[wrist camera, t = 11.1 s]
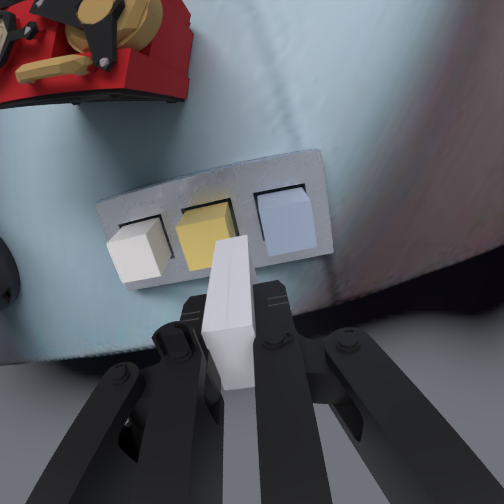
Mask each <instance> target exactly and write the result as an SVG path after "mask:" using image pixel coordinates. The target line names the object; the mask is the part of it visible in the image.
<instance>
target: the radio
mask: <svg viewBox="0 0 504 504" xmlns="http://www.w3.org/2000/svg"><path fill="white" fill-rule="evenodd" d="M190 17H191V14H190V13H189V11H188V9H187V8H186V6H185V4H184V3H183V1H182V0H0V109H7V108H15V107H24V106H35V105H47V104H65V103H72V104H73V105H79V104H80V103H83V102H101V101H166V102H167V103H176V102H184V99H187V96H188V87H189V78H187V74H188V67H189V60H190V53H191V47H192V40H193V33H192V32H191V30H190V29H189V26H190V24H191V23H190Z"/></svg>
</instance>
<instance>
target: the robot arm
mask: <svg viewBox="0 0 504 504" xmlns="http://www.w3.org/2000/svg"><path fill="white" fill-rule="evenodd" d="M19 288H20V282H19V275H18V271H17V267H16V264H15V262H14V259H13V257H12V255H11V253H10V251H9V250H8V248H7V246H6V245H5V243H4V242H3V241H2V239H1V238H0V311H1V310H3V309H6V308H7V307H9V306H10V305H11V304H12V302H13V301H14V300H15V299H16V298H17V296H18V293H19ZM152 340H153V342H154V344H155V346H156V348H157V350H158V351H159V353H160V355H161V357H162V358H161V362H160V363H158V364H156V365H153V366H150V367H147V368H144V369H142V370H139V368H138V367H137V366H136V365H135V364H133V363H131V362H122V363H119V364H116V365H114V366H113V367H111V368H110V369H109V370H108V371H107V372H106V373H105V374H104V376H103V377H102V379H101V380H100V382H99V383H98V385H97V386H96V388H95V389H94V391H93V393H92V394H91V396H90V397H89V399H88V400H87V402H86V403H85V405H84V406H83V408H82V410H81V411H80V413H79V414H78V416H77V417H76V419H75V421H74V422H73V424H72V425H71V427H70V428H69V430H68V432H67V433H66V435H65V436H64V438H63V440H62V441H61V443H60V445H59V446H58V448H57V450H56V452H55V453H54V455H53V456H52V458H51V460H50V461H49V463H48V465H47V466H46V468H45V470H44V472H43V473H42V475H41V477H40V479H39V480H38V482H37V484H36V485H35V487H34V489H33V491H32V493H31V494H30V496H29V498H28V500H27V502H26V503H25V504H222V493H223V491H222V489H223V434H224V433H223V431H224V400H223V397H222V395H221V392H220V391H221V383H222V385H223V388H224V390H232V389H241V388H248V387H255V397H256V415H257V432H258V452H259V470H260V487H261V504H333V503H332V498H331V493H330V487H329V482H328V477H327V472H326V467H325V462H324V457H323V451H322V447H321V442H320V437H319V432H318V427H317V422H316V417H315V412H314V408H313V403H319V404H329V406H330V408H331V410H332V411H333V413H334V414H335V416H336V418H337V419H338V421H339V423H340V424H341V426H342V428H343V429H344V431H345V432H346V434H347V435H348V437H349V439H350V440H351V442H352V444H353V445H354V447H355V448H356V450H357V452H358V453H359V455H360V456H361V458H362V460H363V461H364V463H365V464H366V466H367V468H368V469H369V471H370V472H371V474H372V476H373V477H374V479H375V480H376V482H377V483H378V485H379V487H380V488H381V490H382V491H383V493H384V495H385V496H386V498H387V499H388V501H389V502H390V504H504V488H503V487H502V486H501V485H500V483H499V482H498V481H497V480H496V478H495V477H494V476H493V475H492V474H491V472H490V471H489V470H488V469H487V468H486V466H485V465H484V464H483V463H482V462H481V460H480V459H479V458H478V457H477V456H476V454H474V452H473V451H472V450H471V449H470V447H469V446H468V445H467V444H466V443H465V441H464V440H463V439H462V438H461V437H460V436H459V435H458V433H457V432H456V431H455V430H454V429H453V428H452V427H451V425H450V424H449V423H448V422H447V421H446V420H445V418H444V417H443V416H442V415H441V414H440V413H439V412H438V411H437V409H436V408H435V407H434V406H433V405H432V404H431V403H430V401H429V400H428V399H427V398H426V397H425V396H424V395H423V394H422V392H421V391H420V390H419V389H418V388H417V387H416V386H415V385H414V384H413V382H412V381H411V380H410V379H409V378H408V377H407V376H406V375H405V374H404V373H403V371H402V370H400V368H399V367H398V366H397V365H396V364H395V363H394V362H393V360H392V359H391V358H390V357H389V356H388V355H387V354H386V353H385V352H384V351H383V350H382V349H381V347H380V346H379V345H378V344H377V343H376V342H375V341H374V340H373V339H372V338H371V337H370V336H369V335H368V334H367V333H366V332H364V331H363V330H360V329H357V328H343V329H339V330H336V331H335V332H333V333H331V334H330V335H329V337H328V338H327V339H326V341H322V340H310V339H307V338H304V337H303V336H301V335H299V334H298V332H297V331H296V329H295V327H294V323H293V318H292V314H291V310H290V305H289V301H288V297H287V293H286V288H285V286H284V285H283V284H282V283H281V282H280V281H279V280H275V281H270V282H265V283H259V284H258V281H257V277H256V272H255V267H254V263H253V258H252V254H251V249H250V245H249V240H248V236H247V235H243V236H238V237H233V238H228V239H223V240H218V241H216V244H215V250H214V255H213V261H212V267H211V273H210V279H209V285H208V291H207V294H203V295H197V296H191V297H190V298H189V299H188V300H187V301H186V303H185V304H184V306H183V309H182V315H181V317H180V321H175V322H171V323H167V324H166V325H164V326H162V327H160V328H159V329H158V330H157V331H156V332H155V333H154V334H153V336H152ZM127 419H129V422H128V423H127V424H126V425H124V424H125V422H126V421H127Z"/></svg>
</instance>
